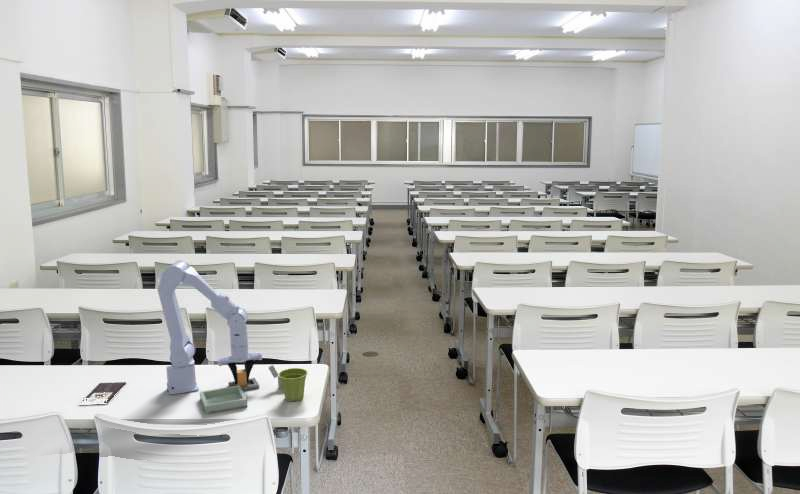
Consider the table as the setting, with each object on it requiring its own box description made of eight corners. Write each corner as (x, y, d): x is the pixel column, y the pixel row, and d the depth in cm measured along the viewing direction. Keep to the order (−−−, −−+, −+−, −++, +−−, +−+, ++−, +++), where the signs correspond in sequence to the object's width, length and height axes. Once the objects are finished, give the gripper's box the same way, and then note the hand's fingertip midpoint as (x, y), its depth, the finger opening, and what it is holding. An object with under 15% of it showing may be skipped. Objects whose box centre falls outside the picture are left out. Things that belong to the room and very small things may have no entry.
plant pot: (295, 406, 221) (294, 380, 219) (273, 400, 226) (272, 375, 224) (314, 396, 229) (313, 371, 227) (292, 390, 233) (291, 366, 232)
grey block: (291, 386, 237) (289, 364, 236) (290, 388, 236) (289, 365, 234) (270, 386, 237) (269, 364, 235) (269, 388, 235) (268, 366, 234)
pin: (238, 388, 235) (237, 373, 234) (236, 385, 238) (235, 370, 237) (247, 387, 236) (246, 371, 235) (245, 384, 239) (244, 369, 238)
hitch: (231, 392, 232) (231, 389, 232) (228, 385, 239) (228, 382, 238) (259, 388, 236) (258, 384, 236) (255, 381, 242) (254, 377, 242)
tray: (205, 414, 216) (205, 406, 215) (200, 399, 227) (199, 391, 227) (247, 406, 221) (246, 399, 220) (239, 392, 232) (239, 385, 232)
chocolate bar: (125, 382, 242) (107, 403, 224) (126, 384, 242) (107, 406, 224) (99, 383, 241) (78, 404, 224) (100, 385, 242) (79, 406, 224)
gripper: (219, 351, 228) (221, 389, 230) (262, 345, 233) (265, 382, 236) (216, 344, 234) (218, 382, 237) (258, 339, 240) (260, 375, 242)
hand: (241, 382), depth 237 cm, fingers closed on pin, 3 cm apart
